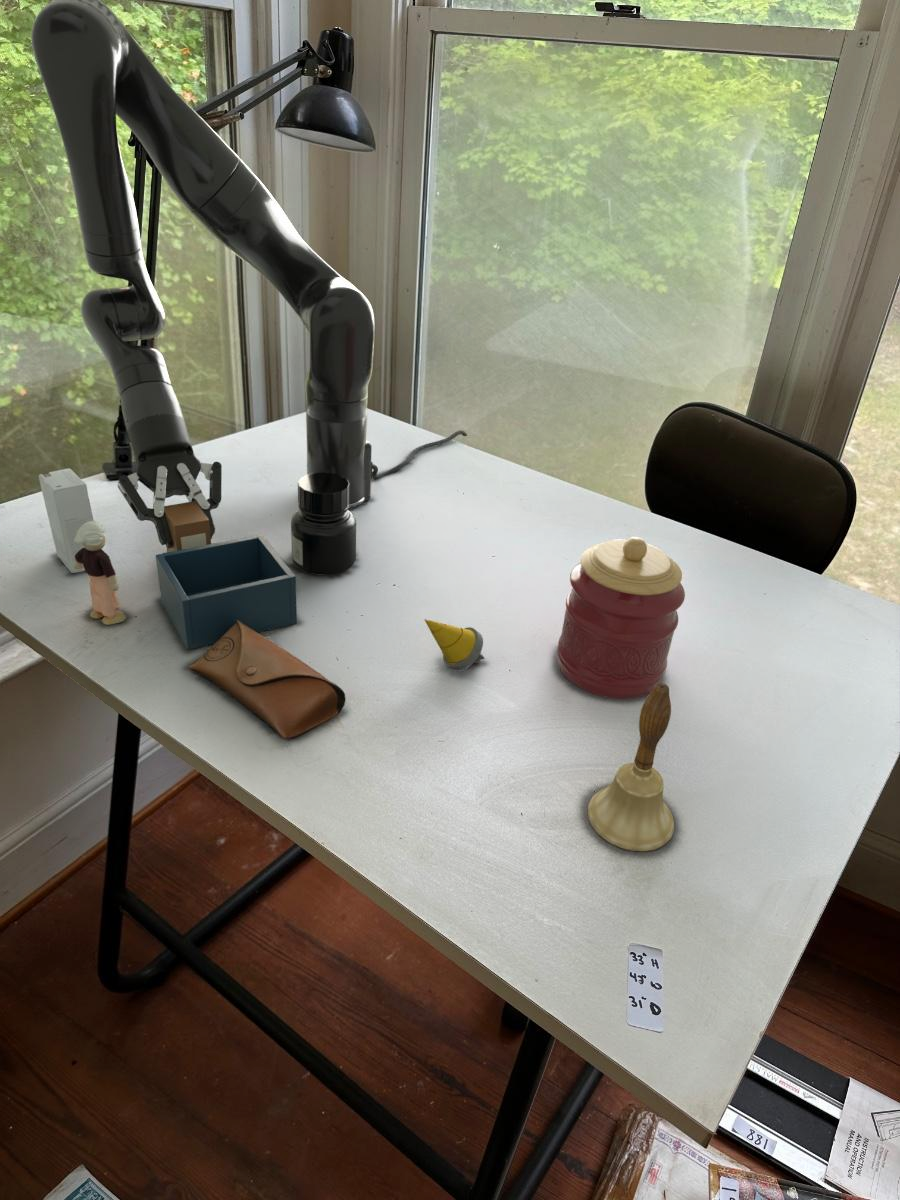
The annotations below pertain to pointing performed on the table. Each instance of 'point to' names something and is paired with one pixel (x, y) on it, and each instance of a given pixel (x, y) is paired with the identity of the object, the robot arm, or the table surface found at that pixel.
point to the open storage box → (226, 589)
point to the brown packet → (187, 526)
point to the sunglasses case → (270, 682)
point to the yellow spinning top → (457, 644)
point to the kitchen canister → (620, 618)
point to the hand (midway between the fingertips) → (189, 542)
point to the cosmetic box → (66, 512)
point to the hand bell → (638, 788)
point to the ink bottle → (323, 525)
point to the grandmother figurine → (98, 572)
